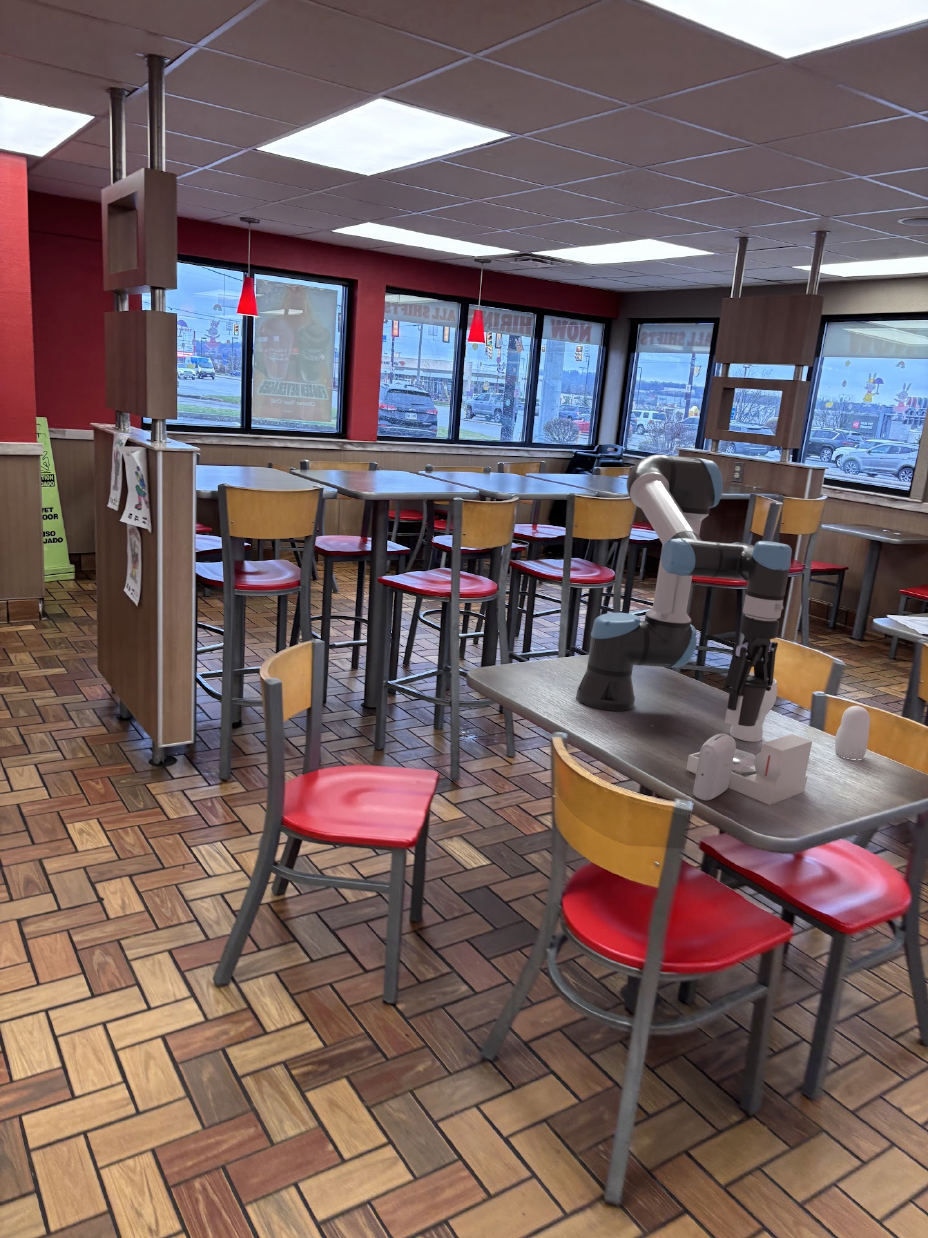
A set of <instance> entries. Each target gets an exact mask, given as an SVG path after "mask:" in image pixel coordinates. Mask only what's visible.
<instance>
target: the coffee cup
mask: <svg viewBox="0 0 928 1238" xmlns="http://www.w3.org/2000/svg"><path fill="white" fill-rule="evenodd" d="M768 687H769V684H768V682H767V681H765V680H763V679H761V678H759V677H756V676H752V675H748V678H747V680H746V683H745V685H744V688H743V690H742V693H741V696H743V700H742V705H741V711H740V717H739V722H738V725H741V726H754V725H755V723H756V720H757V717H758V714H759V710H760V707H761V704H762V701H763V697H764V694H765V691H766V688H768Z"/></svg>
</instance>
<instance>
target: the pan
mask: <svg viewBox="0 0 928 1238" xmlns="http://www.w3.org/2000/svg"><path fill="white" fill-rule="evenodd" d="M756 756H757V754H756V755H755V754H753V753H751V752H748V751H744V750H741V749H737V748H735V753H734V759H733V765H732V771H731V772H734V773H736V774H756V773H757V772H756V770H755V766H754V760H755V757H756Z"/></svg>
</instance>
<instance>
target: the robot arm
mask: <svg viewBox="0 0 928 1238" xmlns="http://www.w3.org/2000/svg"><path fill="white" fill-rule="evenodd" d="M723 484H724V483H723V476H722V472H721V470H720V467H719V466H718V464H717V463H716V462H715V461H713V460H710V459H704V458H700V457H691V456H678V455H666V454H652V455H649V456H645V457H643V458H642V459H640V460H639V461H637V462H636V463H635V465H633V466H632V468H631V470H630V471H629V473H628V475H627V479H626V490H627V495H628V496H629V498H630V500H631V501H632V503H633V505H635V506H636V507H638V508H640V509H641V510H642V512H643V514H644V515H645V517H646V518H647V520H648V522H649V524H650V525H651V527H652V529H653V530H654V532H655V534H656V535H657V537H658V539H659V541H660V542H661V544H662V546H661V552H660V553H661V554H660V560H659V564H658V565H659V566H658V571H657V579H656V584H655V590H654V591H655V592H654V598H653V604H652V608H650V609H649V610H647V611H646V612H645V617H644V620H641V618H640V616H639V615H637V614H633V613H629V612H627V613H625V612H609V613H603V614H601V615H599V616H597V617H596V618H594V621H593V624H592V625H593V626H592V630H591V632H590V636H591V637H590V642H589V643H590V644H589V653H588V658H587V659H588V660H587V666H586V671H585V673H584V675H583V677H582V679H581V680H580V681H581V682H580V683H579V686H578V687H577V689H576V700H577V699H578V700H579V701H581V702H582V703H581V702H580V703H581V704H583V703H584V704H583V705H585V706H587V705H588V707H591V708H595V709H598V710H604V711H611V712H612V711H613V712H615V711H618V712H621V711H624V712H625V711H629V710H632V709H633V708H634V707H635V703H636V700H635V699H636V696H635V694H634V692H635V691H634V685H633V680H632V677H633V667H634V666H644V667H657V668H659V667H662V668H666V669H671V668H682V667H684V666H685V665H687V664H688V663H689V662H690V661H691V659H692V658H693V656H694V653H695V652H696V651H695V650H696V649H697V648H696V647H697V641H698V640H697V639H698V638H697V630H696V628H695V626H694V625H692V624H691V623H692V618H691V617H690V616H689V615H688V612H687V610H688V604H689V598H690V592H691V588H692V587H691V586H692V579H693V577H701V578H704V577H706V578H715V579H716V578H717V579H718V578H719V579H728V580H729V579H730V580H739V581H740V580H741V581H744V582H747V585H746V593H745V598H744V603H743V608H742V613H743V615H742V616H741V619H740V626H739V632H740V633H741V634H742V635H743V636H744V637H743V640H742V642H741V645H737V644H734V645H733V646H732V647H733V648H732V656H731V660H730V663H729V668H728V671H727V675H726V679H725V682H724V687H723V692H725V693H728V694H729V695H728V696H729V697H728V702H727V706H726V707H727V708H726V713H725V718H724V723H726V724H728V725H731V726H732V725H733V726H738V722H739V717H740V711H741V705H742V700H743V696H741V693H742V690H743V688H744V685H745V683H746V680H747V678H748V675H749V673H751V671H752V668H753V673H754V676H756V677H759V678H761V679H763V680H765V681H767V682H768V684H769V686H772V684H773V678H774V673H775V663H776V655H777V654H776V653H777V648H778V647H779V645H778V644H779V643H778V642H777V641H773V639H776V638H777V637H778V633H779V628H780V621H779V620H778V619H781V615H782V614H781V613H782V610H784V597H785V596H786V595H785V594H786V589H787V586H788V585H787V584H788V579H789V574H790V570H791V566H792V562H791V561H792V560H791V559H792V553H793V551H792V550H793V549H792V548H791V546H790V545H789V544H787V543H786V544H785V543H781V542H776V541H767V540H759V541H757V542H755V544H754V545H753V544H750V543H748V542H738V541H736V542H732V543H728V542H726V543H725V542H717V541H705V540H703V539H702V538H701V537H700V531H701V526H702V521H703V520H704V519H706V518H707V517H708V516H709V514H710V509H713V508H715V507H717V505H719V503H720V500H721V499H722V497H723V496H722V495H723V486H724V485H723ZM766 690H767V691H770V690H771V687H768V688H766ZM764 695H765V694H764ZM578 700H577V701H578ZM763 700H764V697H763ZM579 701H578V702H579ZM762 706H763V701H762V704H761V707H760V710H759V714H758V717H757V720H760V717H761V711H762Z"/></svg>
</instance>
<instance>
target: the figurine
mask: <svg viewBox="0 0 928 1238" xmlns="http://www.w3.org/2000/svg"><path fill="white" fill-rule="evenodd" d="M870 726H871V716H870V714H869V712H868V711H867V709H866V708H864V707H862V706H860V705H853V706H849V707H848V708H846V709H845V711H844V712H843V713H842V717H841V721H840V726H839V727H838V729H837V731H836V734H835V739H834V740H835V741H834V743H835V744H834V747H835V748H834V749H835V750H834V751H835V754H836V755H837V754H838V755H839V756H838V755H837V756H838V757H840V756H842V757H845V758H849V759H856V760H858V759H862V760H863V759H864V757H865V755H866V751H867V748H868V743H869V735H870V734H869V733H870V728H871V727H870ZM842 757H841V758H842ZM845 758H844V759H845Z"/></svg>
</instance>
